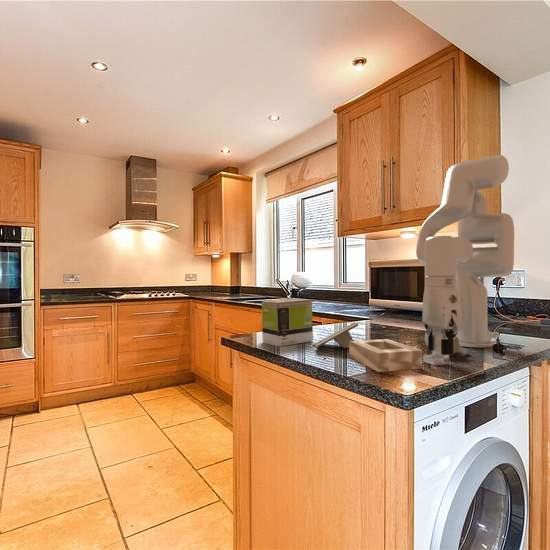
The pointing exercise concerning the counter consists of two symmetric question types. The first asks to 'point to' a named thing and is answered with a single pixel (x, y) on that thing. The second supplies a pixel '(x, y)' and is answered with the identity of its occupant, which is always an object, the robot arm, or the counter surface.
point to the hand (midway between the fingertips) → (440, 351)
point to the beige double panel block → (339, 336)
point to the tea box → (287, 321)
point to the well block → (385, 355)
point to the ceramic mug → (455, 345)
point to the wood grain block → (436, 349)
